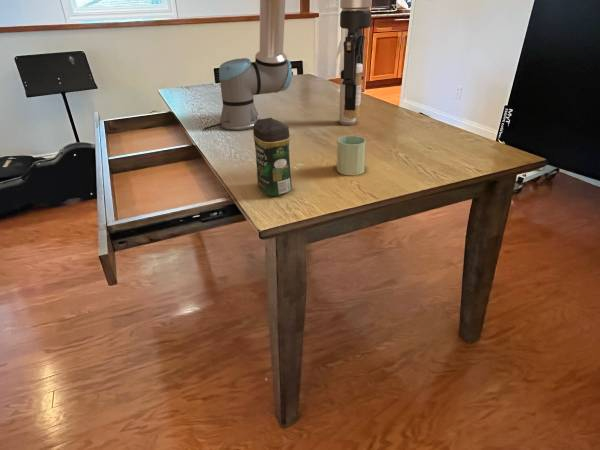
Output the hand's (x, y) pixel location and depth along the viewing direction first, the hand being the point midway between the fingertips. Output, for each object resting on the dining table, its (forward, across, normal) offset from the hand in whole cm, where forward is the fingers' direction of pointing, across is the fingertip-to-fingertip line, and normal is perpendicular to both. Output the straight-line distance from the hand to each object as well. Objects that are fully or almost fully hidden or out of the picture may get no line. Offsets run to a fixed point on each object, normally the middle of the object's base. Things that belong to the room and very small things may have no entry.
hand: (352, 107), depth 111 cm
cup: (+18, 0, 0) cm, 18 cm away
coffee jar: (+18, -18, +16) cm, 31 cm away
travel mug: (+18, +44, +11) cm, 49 cm away
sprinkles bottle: (+3, 0, 0) cm, 3 cm away
